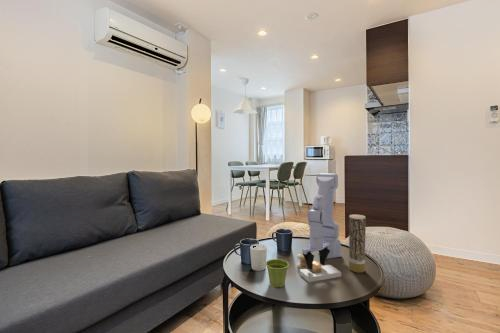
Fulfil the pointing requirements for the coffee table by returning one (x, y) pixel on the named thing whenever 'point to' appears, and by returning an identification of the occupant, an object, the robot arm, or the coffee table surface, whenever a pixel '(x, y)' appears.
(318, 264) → the block
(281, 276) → the plant pot
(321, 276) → the board
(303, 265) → the bobbin
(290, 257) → the coffee table surface
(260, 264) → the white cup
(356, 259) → the bark textured cylinder
